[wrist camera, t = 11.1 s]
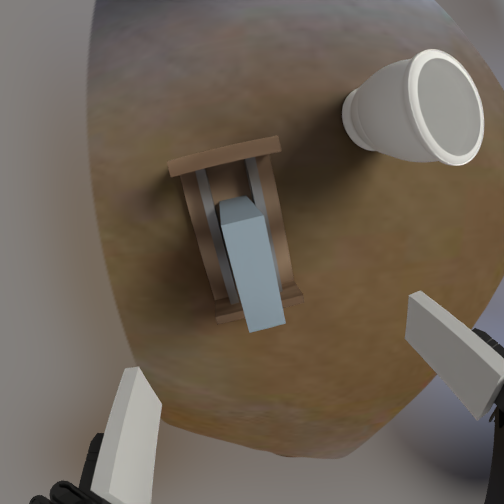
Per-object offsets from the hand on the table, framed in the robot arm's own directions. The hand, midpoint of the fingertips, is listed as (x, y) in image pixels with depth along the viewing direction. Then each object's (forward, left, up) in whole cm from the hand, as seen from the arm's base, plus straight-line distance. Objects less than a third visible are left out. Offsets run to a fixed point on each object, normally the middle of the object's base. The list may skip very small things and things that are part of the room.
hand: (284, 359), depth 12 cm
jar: (-11, +19, -23) cm, 31 cm away
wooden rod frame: (-1, 0, -22) cm, 22 cm away
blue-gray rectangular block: (0, 0, -21) cm, 21 cm away
